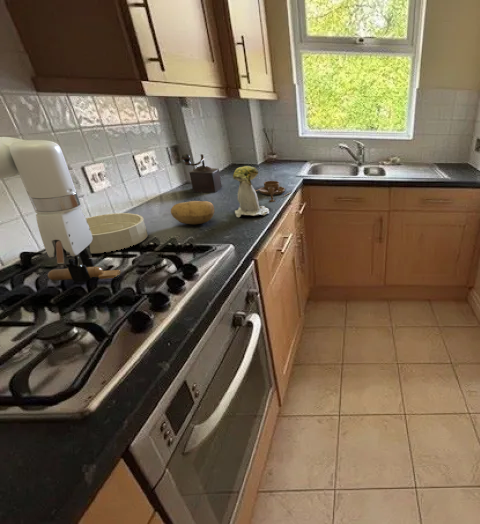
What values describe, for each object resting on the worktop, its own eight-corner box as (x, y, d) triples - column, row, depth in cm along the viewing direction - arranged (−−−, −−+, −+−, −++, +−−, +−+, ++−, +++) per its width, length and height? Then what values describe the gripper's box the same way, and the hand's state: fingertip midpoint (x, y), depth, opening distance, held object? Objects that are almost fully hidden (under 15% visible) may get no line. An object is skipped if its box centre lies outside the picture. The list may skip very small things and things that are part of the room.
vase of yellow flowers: (268, 218, 127) (263, 169, 119) (233, 219, 124) (225, 169, 116) (269, 208, 137) (265, 163, 129) (236, 209, 134) (229, 163, 126)
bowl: (57, 257, 92) (48, 237, 89) (88, 232, 109) (82, 214, 106) (137, 251, 97) (131, 232, 94) (155, 228, 114) (150, 211, 111)
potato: (177, 220, 121) (172, 198, 118) (218, 218, 125) (215, 197, 121) (170, 229, 113) (164, 207, 109) (214, 227, 116) (210, 205, 113)
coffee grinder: (199, 187, 164) (191, 149, 156) (222, 187, 165) (216, 149, 157) (186, 195, 150) (177, 154, 142) (212, 195, 151) (204, 154, 143)
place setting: (295, 191, 162) (294, 179, 160) (274, 202, 145) (273, 189, 142) (263, 188, 166) (261, 176, 163) (239, 198, 149) (237, 185, 146)
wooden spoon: (47, 283, 75) (43, 273, 74) (54, 277, 78) (49, 267, 77) (116, 277, 79) (113, 268, 78) (121, 272, 82) (118, 263, 80)
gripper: (55, 192, 76) (82, 263, 84) (9, 215, 62) (47, 297, 71) (94, 191, 78) (116, 261, 86) (57, 213, 64) (89, 293, 73)
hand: (85, 276), depth 78 cm, fingers closed on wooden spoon, 2 cm apart
